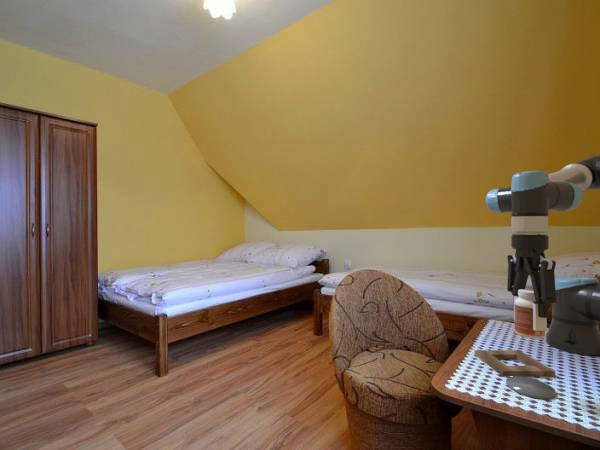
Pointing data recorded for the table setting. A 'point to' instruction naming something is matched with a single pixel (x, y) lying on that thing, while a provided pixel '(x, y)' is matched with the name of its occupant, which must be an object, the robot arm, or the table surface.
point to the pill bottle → (526, 315)
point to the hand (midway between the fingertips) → (529, 325)
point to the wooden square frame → (530, 370)
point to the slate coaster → (530, 387)
